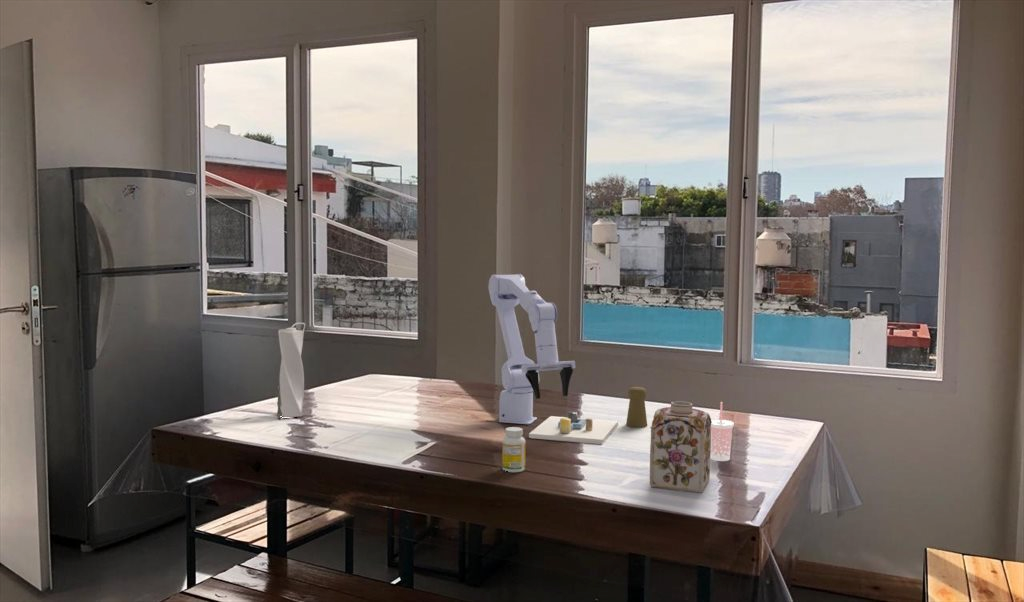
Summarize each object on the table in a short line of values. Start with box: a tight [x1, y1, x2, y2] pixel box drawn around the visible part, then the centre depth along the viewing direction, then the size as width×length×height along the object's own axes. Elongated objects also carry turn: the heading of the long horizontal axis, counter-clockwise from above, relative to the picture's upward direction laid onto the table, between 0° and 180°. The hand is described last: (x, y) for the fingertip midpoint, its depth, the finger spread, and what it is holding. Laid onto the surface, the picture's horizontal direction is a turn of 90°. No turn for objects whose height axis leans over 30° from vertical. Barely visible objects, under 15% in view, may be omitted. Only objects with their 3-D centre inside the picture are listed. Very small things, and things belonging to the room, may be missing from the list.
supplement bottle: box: [501, 426, 526, 473], centre depth 192 cm, size 5×5×10 cm
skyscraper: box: [276, 321, 306, 419], centre depth 244 cm, size 8×8×28 cm
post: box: [566, 411, 579, 423], centre depth 229 cm, size 3×3×5 cm
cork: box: [625, 386, 648, 429], centre depth 236 cm, size 6×6×11 cm
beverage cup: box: [710, 401, 735, 462], centre depth 201 cm, size 6×6×14 cm
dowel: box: [585, 418, 593, 431], centre depth 225 cm, size 2×2×4 cm
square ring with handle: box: [558, 418, 587, 433], centre depth 226 cm, size 13×6×3 cm, turn 162°
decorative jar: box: [649, 400, 712, 494], centre depth 182 cm, size 12×12×18 cm
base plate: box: [528, 415, 619, 445], centre depth 228 cm, size 20×22×1 cm
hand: (551, 397), depth 221 cm, fingers open, 7 cm apart
